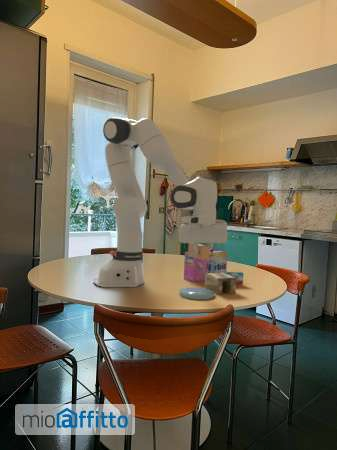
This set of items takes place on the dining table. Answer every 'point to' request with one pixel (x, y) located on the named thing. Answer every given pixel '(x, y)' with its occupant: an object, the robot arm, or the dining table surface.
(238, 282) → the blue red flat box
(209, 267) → the gum box
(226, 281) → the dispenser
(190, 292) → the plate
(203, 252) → the pinkish orange box
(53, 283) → the dining table surface
